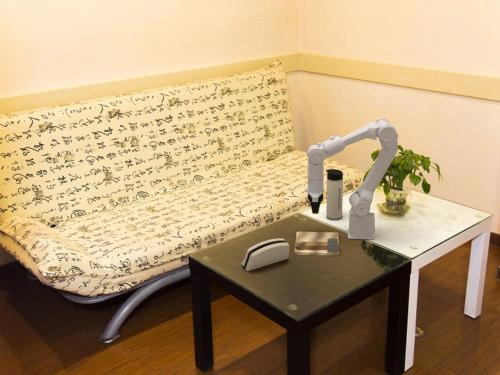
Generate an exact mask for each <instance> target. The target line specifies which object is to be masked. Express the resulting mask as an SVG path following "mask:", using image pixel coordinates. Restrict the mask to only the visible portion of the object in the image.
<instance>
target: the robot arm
mask: <svg viewBox="0 0 500 375" xmlns="http://www.w3.org/2000/svg"><path fill="white" fill-rule="evenodd" d="M398 137H399V133H398V132H397V130H396V128H395V126H393V125H392V124H391V123H390V121H388V120H387V119H385V118H379V119H376V121H371V122H369V123H368V124H366V125H364V126H362V127H360V128H357V129H356V130H353V131H352V132H350V133H348V134H346V135H344V136H338V135H336V136H334V135H331V136H330V137H329V139H327V140H325V141H322V142H317V144H312V145H310V146H309V147H308V148H307V150H306V156H307V157H308V159H307V188H304V193H307V200H308V202H309V205H310V207H311V208H310V209H311V213H312V214H314V215H318V214H319V213H320V207H321V204H322V201H323V200H324V192H325V189H324V177H325V175H324V172H325V171H324V170H325V169H324V162H325V159H328V158H330V157H332V156H335V155H337V154H339V153H341V152H343V151H344V150H345V148H346V147H347V146H350V145H352V144H355V143H357V142H361V141H363V140H365V139H370V140H374V141H377V139H378V140H379V143H380V146H381V150H380V151H379V152H378V153H379V154H378V155H377V156H376V158H375V161H374V162H373V164H372V165H371V168H370V169H369V171H368V173H367V174H366V176H365V178H364V180H363V182H362V184H361V185H360V186H358V187H357V188H356V190H354V192H352V193H350V196H349V198H348V202H349V204H350V206H351V207H350V209H349V212H348V214H349V215H348V229H347V230H346V232H347V239H349V240H351V239H353V240H375V232H376V227H375V224H376V220H375V219H376V217H375V213H374V212H371V204H372V203H373V200H374V193H375V192H376V190H377V188H378V186H379V184H380V183H381V181H382V180H383V178H384V176H385V174H386V172H387V171H388V169H389V167H390V165H391V164H392V162H393V160H394V158H395V157H396V155H397V153H398V150H399V145H398V143H399V142H398V141H399V140H398Z"/></svg>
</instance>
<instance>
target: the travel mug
mask: <svg viewBox="0 0 500 375" xmlns="http://www.w3.org/2000/svg"><path fill="white" fill-rule="evenodd" d="M325 173H326V207H325V208H326V218H327V219H328V220H330V221H339V220H342V218H343V201H344V200H343V199H344V198H343V195H344V194H343V193H344V192H343V190H344V172H343V171H342V170H340V169H337V168H329V169H326V170H325Z"/></svg>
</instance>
